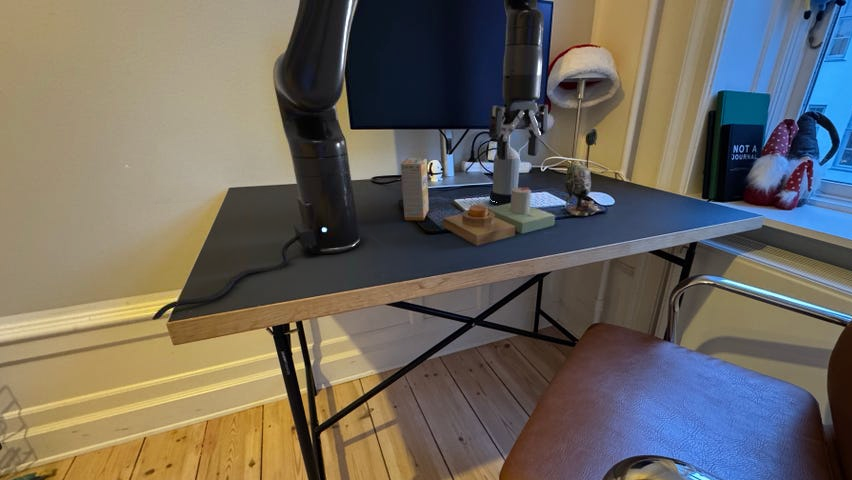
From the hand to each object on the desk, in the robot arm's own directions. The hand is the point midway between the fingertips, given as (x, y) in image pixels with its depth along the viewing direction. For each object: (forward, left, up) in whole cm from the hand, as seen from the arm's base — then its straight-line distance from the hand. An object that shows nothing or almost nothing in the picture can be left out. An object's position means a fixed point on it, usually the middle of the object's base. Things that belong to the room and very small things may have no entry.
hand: (517, 157), depth 80 cm
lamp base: (-11, -1, -15) cm, 18 cm away
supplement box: (-17, +16, -15) cm, 28 cm away
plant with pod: (+19, -4, -15) cm, 25 cm away
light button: (-11, -1, -11) cm, 15 cm away
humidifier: (+8, +13, -15) cm, 22 cm away
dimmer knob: (+1, -1, -12) cm, 12 cm away
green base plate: (+1, -1, -15) cm, 15 cm away
